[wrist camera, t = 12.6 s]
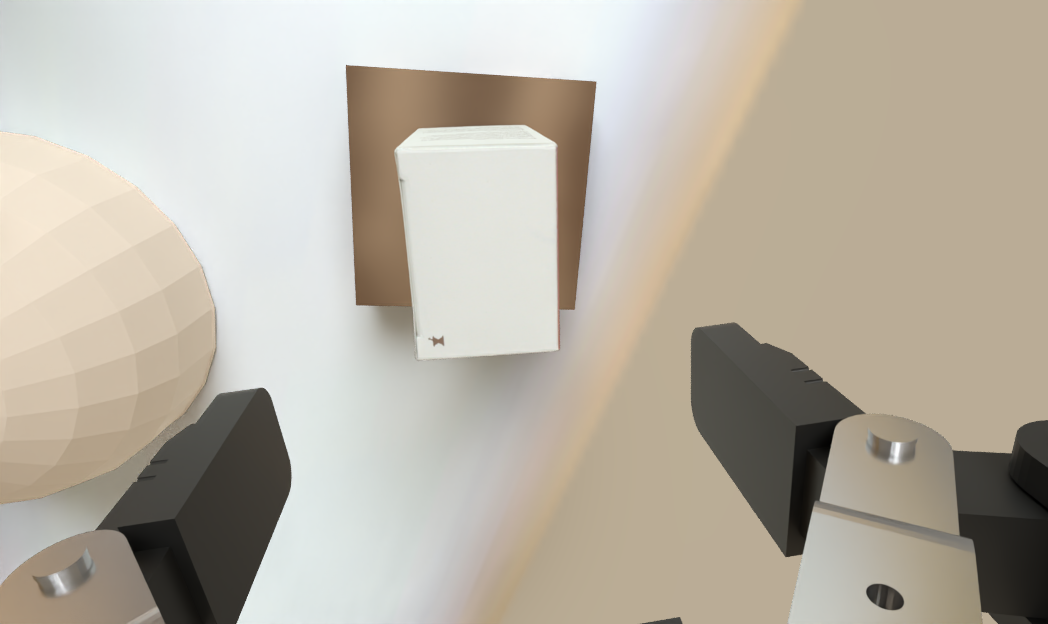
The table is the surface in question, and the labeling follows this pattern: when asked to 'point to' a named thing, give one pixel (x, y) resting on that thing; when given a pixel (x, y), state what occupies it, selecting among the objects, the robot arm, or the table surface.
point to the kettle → (89, 319)
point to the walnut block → (453, 101)
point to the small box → (481, 240)
